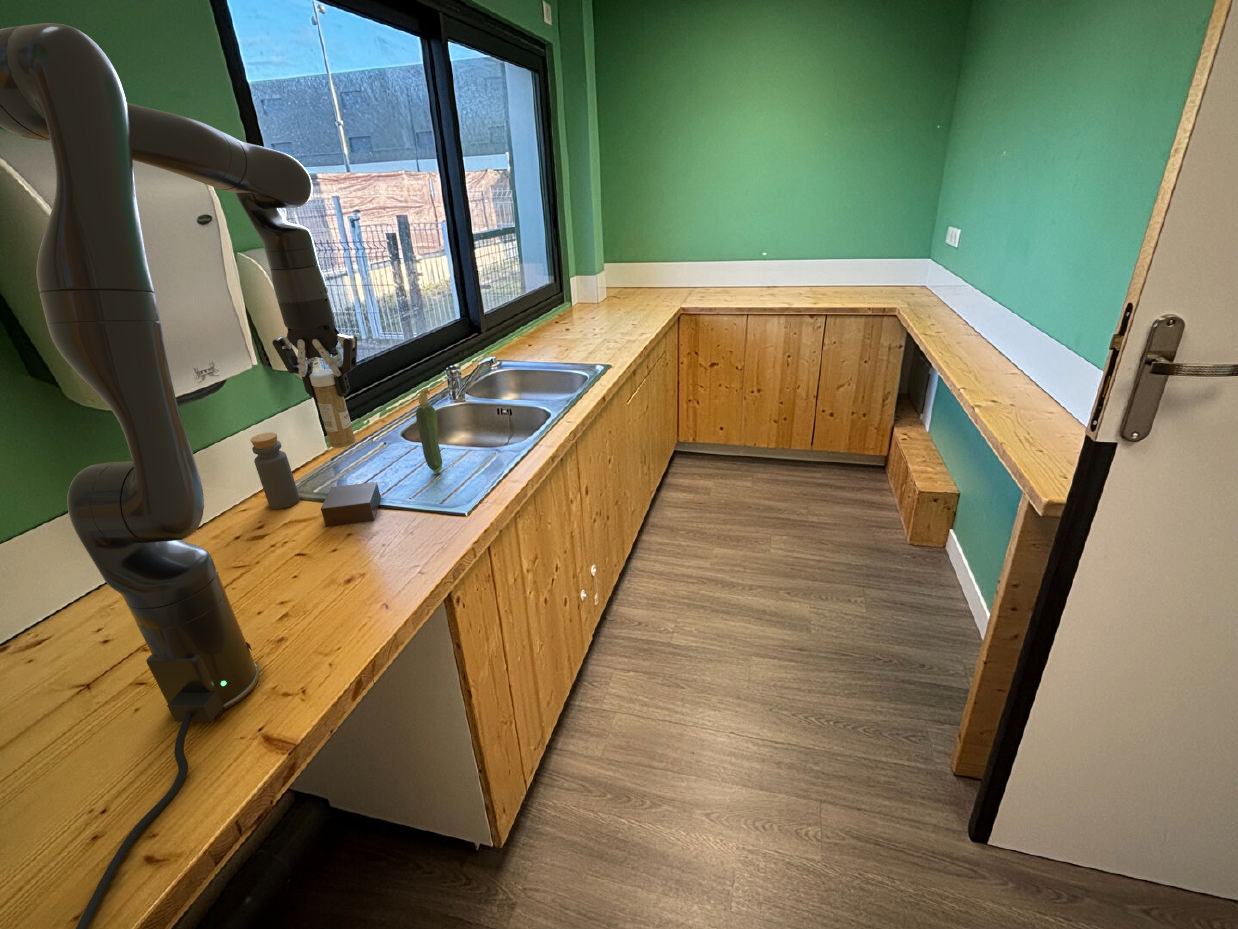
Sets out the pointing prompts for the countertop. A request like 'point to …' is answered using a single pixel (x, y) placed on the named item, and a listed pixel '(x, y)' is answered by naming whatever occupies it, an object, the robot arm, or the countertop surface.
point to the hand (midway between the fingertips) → (329, 394)
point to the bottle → (274, 471)
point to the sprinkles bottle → (332, 409)
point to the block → (351, 504)
